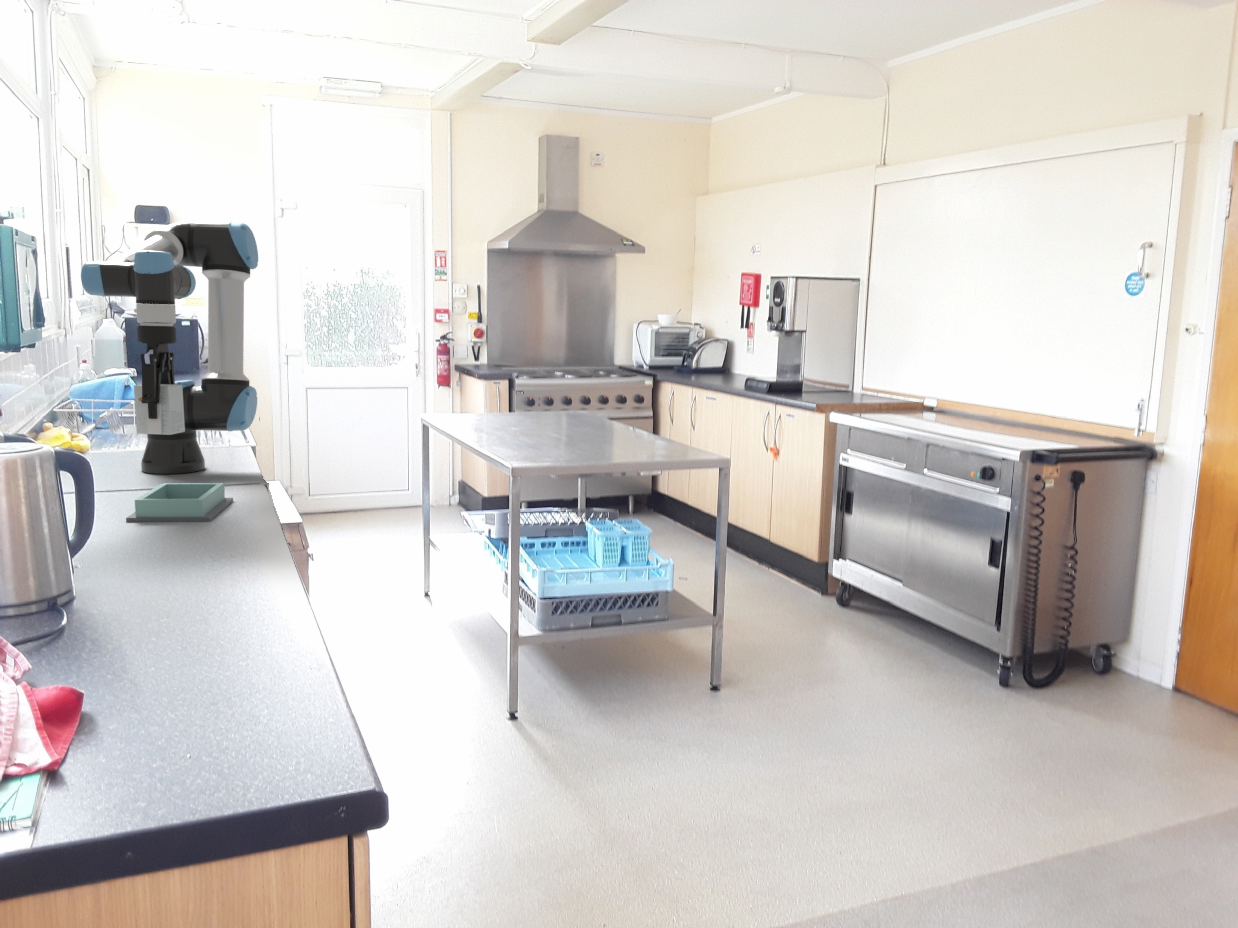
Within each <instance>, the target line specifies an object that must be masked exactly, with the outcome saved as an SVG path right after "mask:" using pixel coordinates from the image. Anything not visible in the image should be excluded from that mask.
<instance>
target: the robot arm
mask: <svg viewBox="0 0 1238 928" xmlns="http://www.w3.org/2000/svg"><path fill="white" fill-rule="evenodd" d="M258 262H259V252H258V245H257V241H256V238H255V234H254V233H253V230H252V229H251V228H250V226H249V225H248V224H246V223H241V222H234V221H205V220H202V221H201V220H198V221H197V220H183V221H178V222H174V223H170V224H167V225H164V226H162V227H159V228H157V229H154V230H153V231H151V232H150V233H148V234H146V236H145V238H144V240H143V241H142V242H140V243H139V244H136V245H134V246H133V247H131V248H129V249H128V250H125V251H124V252H122V253H120V254H118V255H117V256H115V257H113V258H111V259H109V260H107V261H102V260H96V261H95V260H94V261H93V260H91V261H86V262H84V263H83V265H82V267H81V270H80V281H81V285H82V289H83V290H84V291H85V292H86V293H87V294H88V295H91V296H98V297H99V296H100V297H103V298H104V297H121V298H122V297H123V298H125V297H126V298H127V297H128V298H135V305H136V306H135V307H136V308H134V309H133V312H134V313H135V314H136V322H137V323H138V324H139V325H138V326H137V327H136V334H137V342H138V343H140V344H146V347H145V348H146V349H145V353H141V354H140V362H141V385H142V400H141V401H142V403H147V427H148V434H146V437H147V442H146V445H145V448H144V452H143V455H142V459H141V462H140V466H141V472H144V473H146V474H156V475H157V474H158V475H167V474H168V475H169V474H170V475H174V474H186V473H193V472H199V471H203V470H205V469H206V461H205V457H204V454H203V453H202V450H201V447H200V445H199V442H198V437H197V431H217V432H219V431H220V432H224V431H225V432H226V431H227V432H234V431H237V432H238V431H245V430H247V429H249V428H250V427H251V426H252V424H253V422H254V420H255V417H256V412H257V408H258V396H257V395H258V393H257V389H256V388H255V387H253V386H252V385H250V379H249V377H247V376H246V375H245V373H244V343H245V342H244V337H245V335H244V332H245V331H244V327H245V326H244V325H245V324H244V320H245V316H244V314H245V311H244V310H245V304H244V303H245V282H246V281H247V280H248V279H249V278H251V270H255V269H256V268H257V267H258V264H259V263H258ZM187 267H197V268H200V267H201V273H202V275H203V276H204V277H205V278H206V279H207V280H208V302H207V303H208V304H207V305H208V308H207V309H208V313H207V314H208V315H207V316H208V317H207V319H208V320H207V323H208V325H207V329H208V330H207V373H206V374H204V375H203V376H202V378H201V385H196V383H195V381H194V379H183V380H175V379H176V378H175V368H174V367H175V366H174V362H175V358H174V357H175V354H174V352H169V345H171V344H172V345H173V344H174V345H175V344H176V343H177V327H175V326H174V324H176V323H177V315H176V300H181V299H186V298H187V297H190V296H191V295H192V294H193V293H194V291H195V289H196V285H197V283H196V278H195V275H194V273H193V272H192V271H191V270H190V269H189V268H187ZM161 384H172V385H182V389H183V406H184V424H185V432H181V433H176V434H172V435H162V411H161V404H159V398H160V385H161Z"/></svg>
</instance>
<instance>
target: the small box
mask: <svg viewBox="0 0 1238 928" xmlns="http://www.w3.org/2000/svg"><path fill="white" fill-rule="evenodd" d="M133 389H134V390H133V392H134V406H135V408H134V411H135V424H136V425H135V427H136V434H138V435H143V434H144V435H147V434H148V427H147V403H142V401H141V400H142V384H134V385H133ZM159 404H161V411H162V435H172V434H176V433H181V432H185V424H184V406H183V389H182V385H172V384H161V385H160V398H159Z"/></svg>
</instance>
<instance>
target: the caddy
mask: <svg viewBox="0 0 1238 928" xmlns="http://www.w3.org/2000/svg"><path fill="white" fill-rule="evenodd" d="M233 502H234V497H226V496H225V483H224V482H211V483H210V482H206V483H205V482H204V483H203V482H186V483H185V482H181V483H180V482H179V483H178V482H175V483H174V482H168V483H167V482H166V483H165V482H164V483H161V484H158V485H157V486H156V487H154V488H152V489H150V490H149V491H147V492H146V493H144V494H143V495H140V496H139V497H138V498H136V499H135V500H134V512H133V513H132V514H130V515H128V516H127V517H126V518H125V523H136V522H137V523H143V522H144V523H147V522H148V523H149V522H150V523H151V522H153V523H155V522H160V523H161V522H164V523H166V522H167V523H168V522H172V523H173V522H176V523H177V522H211V521H212V520H213V519H215V518H216V517H217V516H218V515H219V514H220V513H222V512H223V511H224V510H225V509H226V508H228V507H229V505H231V504H232V503H233Z"/></svg>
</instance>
